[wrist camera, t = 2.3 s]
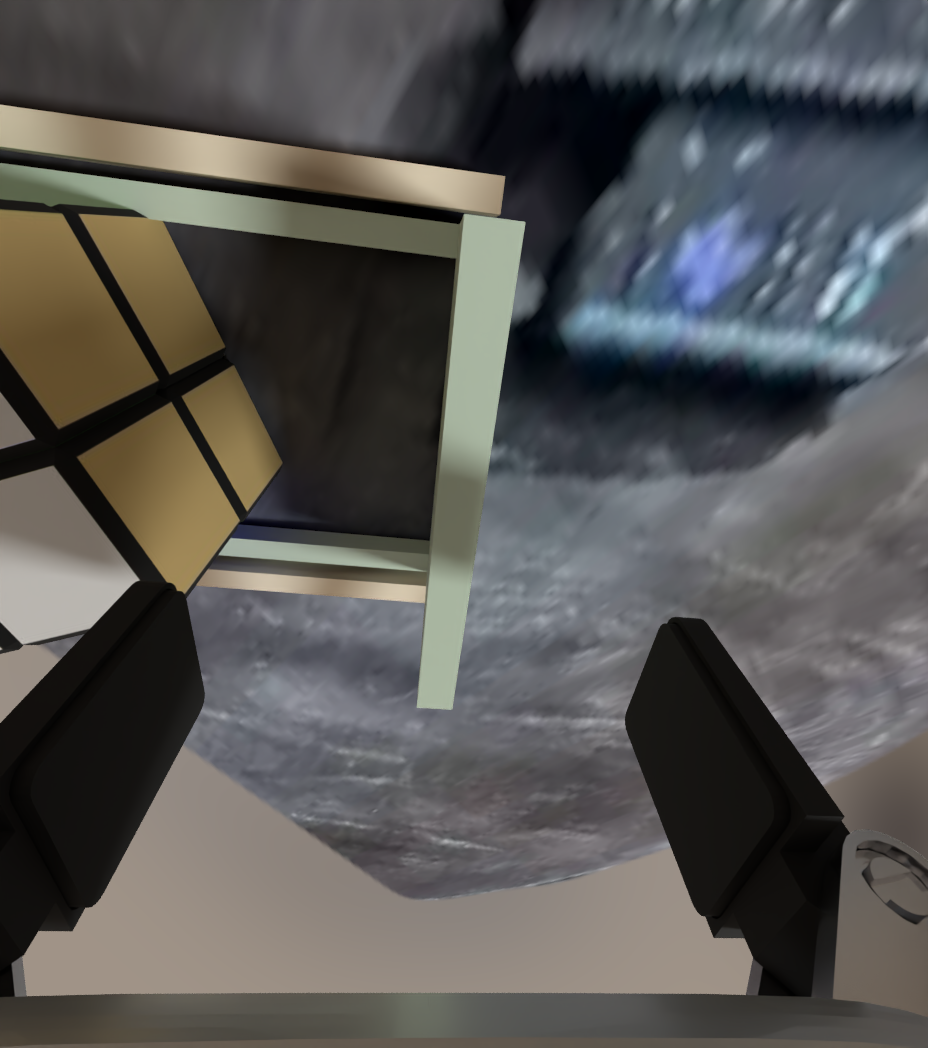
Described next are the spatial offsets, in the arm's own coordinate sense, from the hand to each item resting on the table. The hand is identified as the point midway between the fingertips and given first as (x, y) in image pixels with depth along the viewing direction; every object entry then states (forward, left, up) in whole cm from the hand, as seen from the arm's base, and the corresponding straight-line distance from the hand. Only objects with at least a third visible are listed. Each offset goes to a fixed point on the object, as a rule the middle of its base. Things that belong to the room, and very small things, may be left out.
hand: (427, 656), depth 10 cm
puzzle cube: (+13, -1, -13) cm, 19 cm away
